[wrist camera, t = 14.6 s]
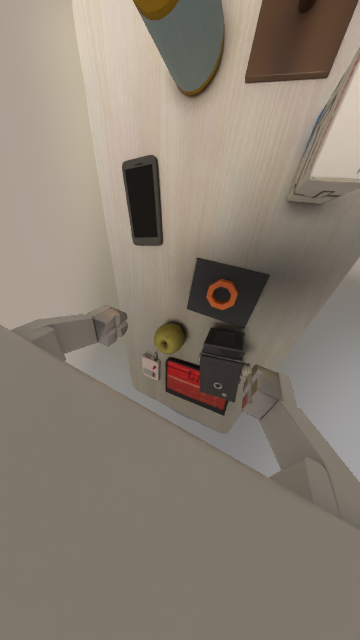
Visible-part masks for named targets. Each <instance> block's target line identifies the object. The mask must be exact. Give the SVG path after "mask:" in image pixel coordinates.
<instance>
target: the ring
mask: <svg viewBox="0 0 360 640" xmlns="http://www.w3.org/2000/svg"><path fill="white" fill-rule="evenodd" d="M218 287H224V288H227V289H228V290H229V292H230V294H231V297H230V299H229V300H227V301H225V302H221V301H218V300H216V298H215V296H214V290H215V289H217V288H218ZM237 295H238V291H237V289H236V287H235V285H234V283H233V282H232V281H228V280H224V279H220V280H218V281H216V282H214V283H212V284H211V285H210V286H209V289H208V292H207V296H206V298H207V299H208V301H209V303H210V304H211V306H212V307H215V308H218V309H221V310H224V309H226V308H229V307H231V306H233V305H234V303H235V300H236V298H237Z"/></svg>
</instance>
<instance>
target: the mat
mask: <svg viewBox="0 0 360 640" xmlns="http://www.w3.org/2000/svg"><path fill="white" fill-rule="evenodd" d="M268 278H269V275H266V274H262V273H258V272H254V271H250V270H246V269H242V268H237V267H233V266H229V265H225V264H221V263H217V262H213V261H209V260H204V259H200V258H197V262H196V267H195V271H194V276H193V281H192V286H191V291H190V296H189V301H188V306H187V309H189V310H192V311H194V312H197V313H200V314H203V315H206V316H209V317H212V318H215V319H218V320H221V321H224V322H227V323H230V324H233V325H236V326H239V327H241V328H245V326H246V324H247V322H248V320H249V318H250V316H251V314H252V311H253V309H254V307H255V305H256V303H257V301H258V299H259V297H260V295H261V293H262V291H263V288H264V286H265V284H266V282H267V280H268ZM220 279H224V280H228V281H232V282H233V283H234V285H235V287H236V289H237V291H238V295H237V298H236V300H235V303H234V305H233V306H231V307H229V308H226V309H224V310H221V309H218V308H215V307H212V306H211V304H210V303H209V301H208V299H207V298H206V296H207V292H208V289H209V286H210V285H211V284H212V283H214V282H216V281H218V280H220ZM214 296H215V298H216V300H218V301H221V302H225V301H227V300H229V299H230V297H231V294H230V292H229V290H228V289H227V288H224V287H218V288H217V289H215V290H214Z"/></svg>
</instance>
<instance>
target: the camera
mask: <svg viewBox="0 0 360 640" xmlns="http://www.w3.org/2000/svg"><path fill="white" fill-rule="evenodd" d="M244 335H245V334H244V333H243V332H237V331H231V330H225V329H219V328H211V329H210V331H209V333H208V336H207V338H206V340H205V342H204V347H203V350H202V352H200V355H199V360H198V362H199V363H200V392H202V393H205V394H209V395H212V396H215V397H218V398H222V399H225V400H228V401H232V402H234V403H235V398H236V393H237V388H238V384H240V380H241V379H240V375H241V376H243V377H244V376H246V377H247V376H248V375H249V374H250V364H248V363H247V364H246V363H243V356H244V354H245V352H244V351H243V349H244V340H243V338H244Z"/></svg>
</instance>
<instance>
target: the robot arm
mask: <svg viewBox="0 0 360 640" xmlns="http://www.w3.org/2000/svg"><path fill="white" fill-rule="evenodd" d="M126 319H127V314H126V313H125V312H122V311H120V310H118V309H115V308H112V307H110V306H108V305H104V306H102V307H100V308H98V309H96V310H94V311H91V312H89V313H87V314H85V315H84V314H79V315H71V316H63V317H55V318H47V319H39V320H35V321H33V322H30V323H27V324H25V325H23V326H20V327H18V328H15V329H12V330H8V329H7V328H5V327H3V326H1V325H0V640H360V482H359V481H358V480H357V479H356V477H355V476H354V475H353V474H352V472H351V471H350V470H349V468H348V467H347V466H346V465H345V463H344V462H343V461H342V460H341V458H340V457H339V456H338V455H337V453H336V452H335V451H334V450H333V448H332V447H331V446H330V445H329V443H328V442H327V441H326V440H325V439H324V437H323V436H322V435H321V434H320V432H319V431H318V430H317V429H316V427H315V426H314V425H313V424H312V422H311V421H310V420H309V419H308V417H307V416H306V415H305V414H304V412H303V411H302V410H301V409H299V408H297V405H296V401H295V397H294V393H293V389H292V385H291V381H290V378H289V377H288V376H286V375H283V374H280V373H278V372H274V371H272V370H269V369H267V368H264V367H262V366H259V365H254V367H253V368H252V374H249V375H248V376H247V378H246V380H245V383H244V389H243V392H244V394H245V396H244V398H243V402H242V411H243V412H245V413H247V414H249V415H251V416H253V417H255V418H257V419H259V420H260V423H261V425H262V428H263V430H264V432H265V434H266V437H267V439H268V441H269V443H270V446H271V448H272V450H273V452H274V455H275V457H276V459H277V461H278V464H279V466H280V468H281V470H282V471H280V472H278V473H276V474H274V475H273V476H271V477H269V478H268V477H266V476H265V475H263V474H261V473H259V472H257V471H255V470H254V469H252V468H250V467H249V466H247V465H245V464H243V463H242V462H240V461H238V460H236V459H235V458H233V457H231V456H229V455H228V454H226V453H224V452H222V451H221V450H219V449H217V448H215V447H214V446H212V445H210V444H208V443H206V442H205V441H203V440H201V439H200V438H198V437H196V436H194V435H193V434H191V433H189V432H187V431H186V430H184V429H182V428H180V427H179V426H177V425H175V424H173V423H171V422H170V421H168V420H166V419H165V418H163V417H161V416H159V415H157V414H156V413H154V412H152V411H150V410H149V409H147V408H145V407H144V406H142V405H140V404H138V403H137V402H135V401H133V400H131V399H129V398H128V397H126V396H124V395H122V394H120V393H119V392H117V391H116V390H114V389H112V388H110V387H109V386H106V385H105V384H103V383H101V382H100V381H98V380H96V379H94V378H93V377H91V376H89V375H87V374H86V373H84V372H82V371H80V370H79V369H77V368H75V367H73V366H72V365H70V364H68V363H66V362H65V360H66V358H65V356H64V354H65V353H68V352H71V351H74V350H77V349H80V348H83V347H86V346H89V345H92V344H95V343H97V342H100V343H102V344H104V345H106V346H110V345H111V344H112V343H113V342H115V341H116V340H117V338H118V337H121V336H123V335H124V334H125V332H126V331H127V327H128V326H127V323H126V321H125V320H126Z"/></svg>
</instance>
